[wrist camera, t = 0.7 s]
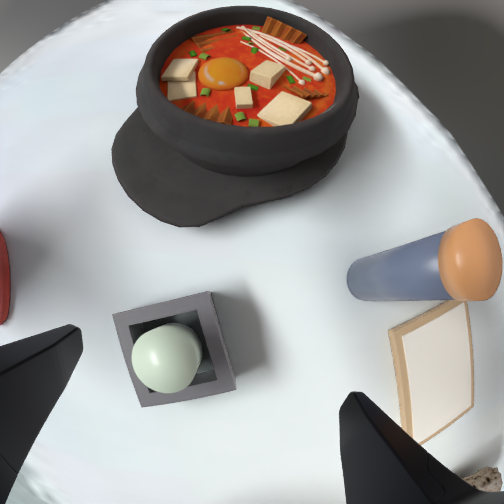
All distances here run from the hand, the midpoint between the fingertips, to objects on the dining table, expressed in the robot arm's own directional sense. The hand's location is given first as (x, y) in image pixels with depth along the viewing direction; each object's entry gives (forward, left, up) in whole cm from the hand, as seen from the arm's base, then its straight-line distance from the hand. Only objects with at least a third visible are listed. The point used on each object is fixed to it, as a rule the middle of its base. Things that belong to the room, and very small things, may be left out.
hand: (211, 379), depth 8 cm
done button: (0, +4, -12) cm, 12 cm away
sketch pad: (-11, -18, -13) cm, 25 cm away
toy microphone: (+1, -12, -13) cm, 18 cm away
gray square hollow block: (0, +4, -13) cm, 14 cm away
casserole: (+18, -6, -14) cm, 23 cm away
